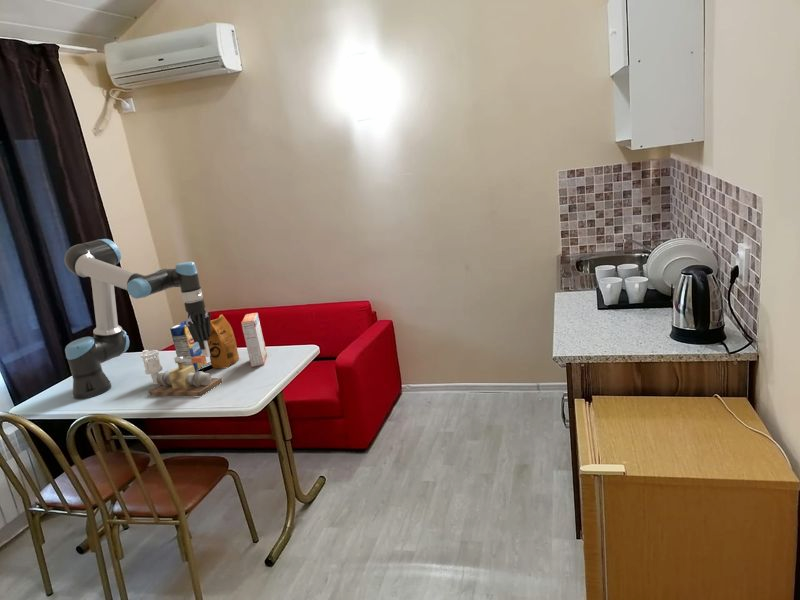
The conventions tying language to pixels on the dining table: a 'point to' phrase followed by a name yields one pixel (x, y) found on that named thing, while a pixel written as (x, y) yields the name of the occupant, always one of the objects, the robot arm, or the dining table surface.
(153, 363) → the white upright piece
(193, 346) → the beverage box
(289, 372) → the dining table surface
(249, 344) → the cracker box
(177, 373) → the valve stand
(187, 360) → the valve lever
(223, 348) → the coffee package
